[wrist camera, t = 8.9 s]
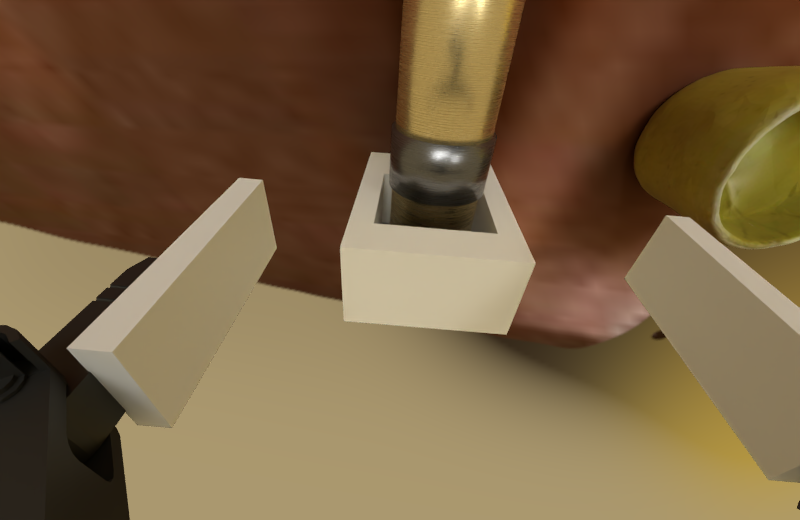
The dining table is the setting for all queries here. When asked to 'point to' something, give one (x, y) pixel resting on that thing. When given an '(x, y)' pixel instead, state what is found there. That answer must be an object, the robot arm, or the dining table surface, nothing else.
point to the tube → (448, 107)
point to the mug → (729, 155)
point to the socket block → (432, 263)
